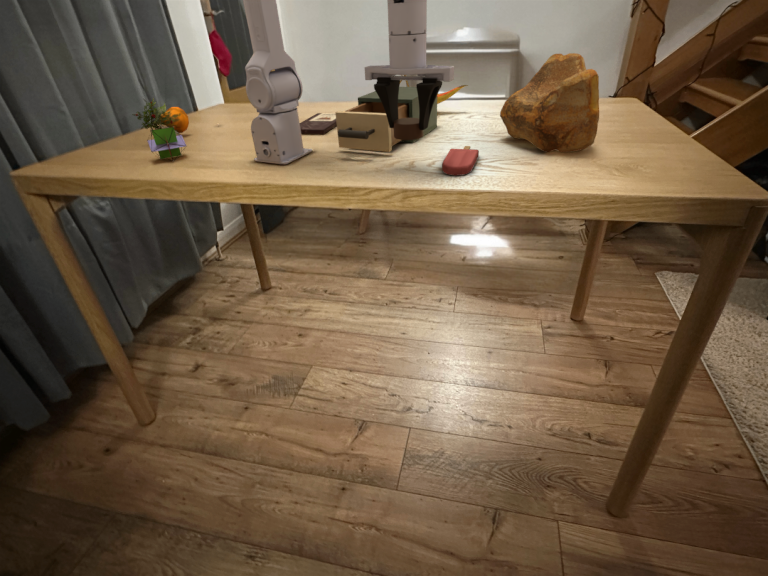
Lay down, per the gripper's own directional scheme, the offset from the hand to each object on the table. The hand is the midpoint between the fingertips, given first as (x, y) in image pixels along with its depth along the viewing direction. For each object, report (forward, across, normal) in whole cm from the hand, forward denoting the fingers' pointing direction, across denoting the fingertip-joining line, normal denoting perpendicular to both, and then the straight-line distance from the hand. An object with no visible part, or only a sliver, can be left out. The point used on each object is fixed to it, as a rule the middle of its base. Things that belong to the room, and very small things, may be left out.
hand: (408, 127), depth 72 cm
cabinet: (+7, +13, -24) cm, 28 cm away
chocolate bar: (+7, +36, -26) cm, 44 cm away
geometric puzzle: (+8, +51, +8) cm, 52 cm away
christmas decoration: (+7, +63, -18) cm, 66 cm away
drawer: (+6, +13, -11) cm, 18 cm away
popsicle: (+7, -7, -7) cm, 12 cm away
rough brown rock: (+7, -18, -25) cm, 32 cm away
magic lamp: (+8, +13, -45) cm, 47 cm away
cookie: (+1, 0, 0) cm, 1 cm away
